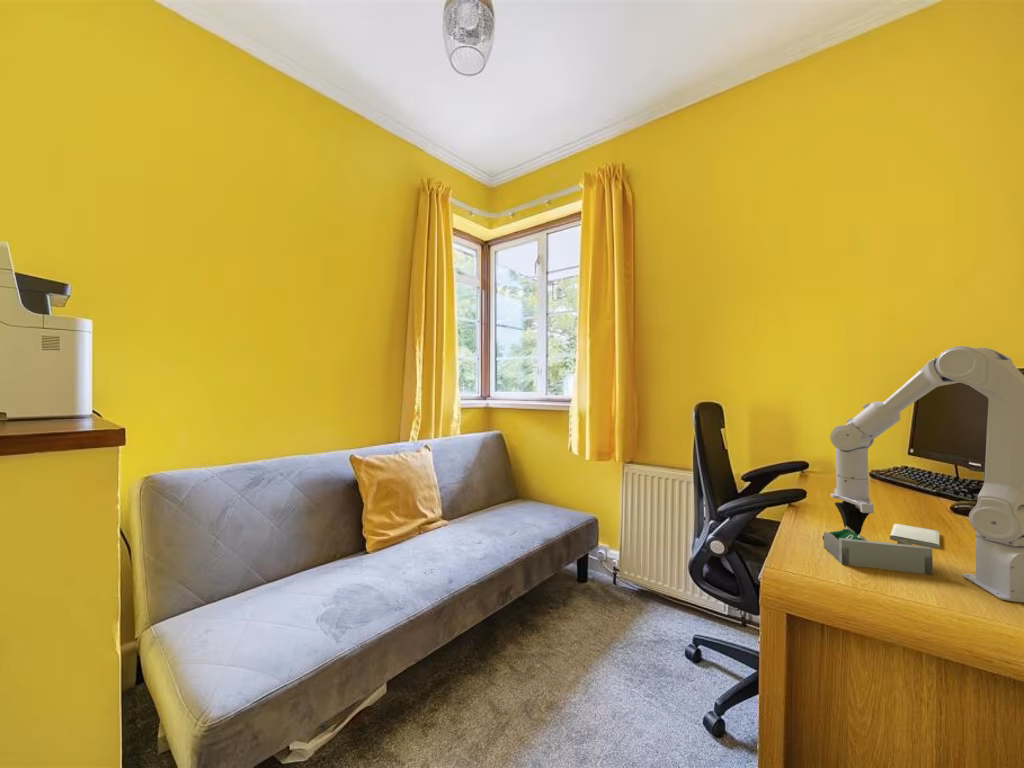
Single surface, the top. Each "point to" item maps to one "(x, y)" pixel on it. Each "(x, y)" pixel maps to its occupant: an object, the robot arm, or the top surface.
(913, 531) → the hard drive
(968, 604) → the top surface
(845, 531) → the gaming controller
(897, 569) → the tray
